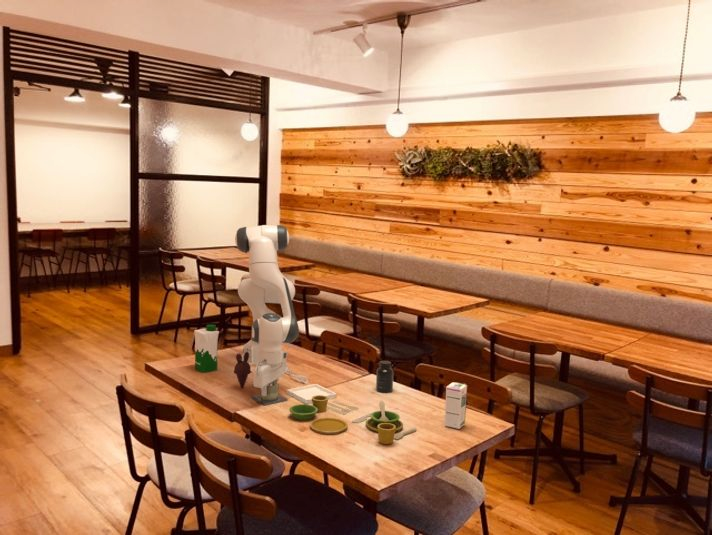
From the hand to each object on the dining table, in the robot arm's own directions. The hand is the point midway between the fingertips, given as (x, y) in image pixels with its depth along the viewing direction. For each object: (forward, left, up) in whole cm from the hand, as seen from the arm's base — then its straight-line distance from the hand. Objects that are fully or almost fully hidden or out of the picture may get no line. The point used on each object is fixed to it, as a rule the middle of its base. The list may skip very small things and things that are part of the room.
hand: (269, 392), depth 229 cm
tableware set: (+35, +11, -4) cm, 37 cm away
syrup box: (+56, +42, -3) cm, 70 cm away
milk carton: (-45, -5, -3) cm, 45 cm away
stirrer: (-16, +22, -3) cm, 27 cm away
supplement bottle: (+15, +45, -3) cm, 48 cm away
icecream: (-16, -3, -3) cm, 17 cm away
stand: (0, 0, -3) cm, 3 cm away
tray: (+5, +16, -3) cm, 17 cm away
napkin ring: (0, 0, -2) cm, 2 cm away
